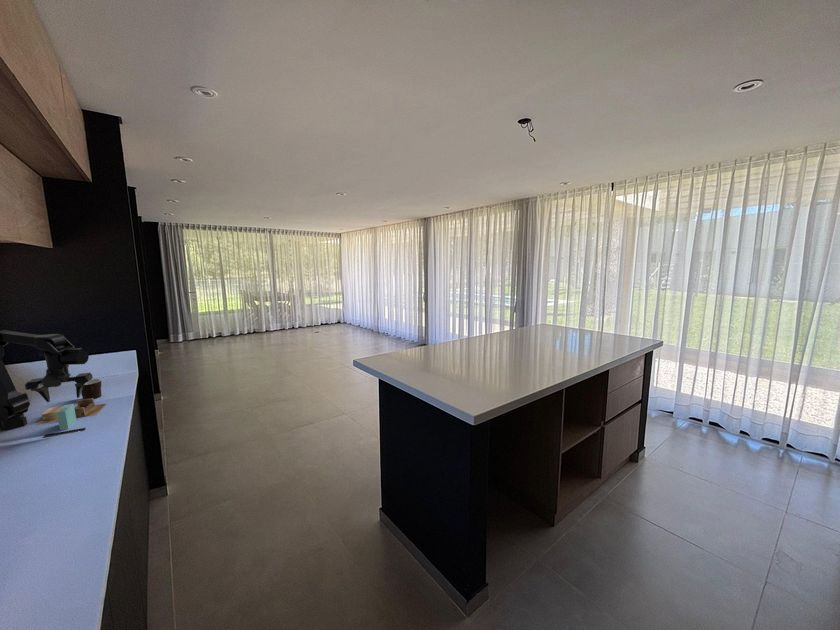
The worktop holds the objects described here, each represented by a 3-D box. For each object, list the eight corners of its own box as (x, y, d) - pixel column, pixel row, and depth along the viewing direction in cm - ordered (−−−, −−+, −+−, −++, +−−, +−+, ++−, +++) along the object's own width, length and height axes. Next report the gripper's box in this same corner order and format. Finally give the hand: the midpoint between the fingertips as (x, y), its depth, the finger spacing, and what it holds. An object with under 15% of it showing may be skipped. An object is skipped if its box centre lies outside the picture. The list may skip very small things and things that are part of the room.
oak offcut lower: (43, 420, 146) (42, 417, 146) (51, 414, 152) (50, 411, 152) (59, 418, 149) (58, 415, 148) (66, 412, 155) (65, 408, 154)
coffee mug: (85, 398, 173) (82, 380, 171) (107, 395, 177) (104, 377, 175) (74, 407, 163) (70, 388, 161) (97, 404, 166) (94, 385, 165)
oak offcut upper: (42, 417, 146) (41, 414, 146) (49, 411, 152) (49, 408, 152) (57, 415, 149) (57, 411, 148) (64, 408, 155) (64, 405, 154)
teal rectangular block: (60, 432, 139) (56, 412, 137) (69, 424, 146) (65, 404, 144) (68, 430, 140) (65, 411, 138) (77, 422, 147) (73, 403, 145)
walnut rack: (35, 428, 143) (32, 416, 142) (50, 414, 155) (48, 403, 154) (97, 418, 152) (95, 406, 151) (107, 406, 164) (105, 395, 163)
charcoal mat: (43, 438, 135) (42, 436, 135) (56, 426, 145) (55, 425, 145) (83, 430, 141) (82, 429, 141) (92, 419, 150) (92, 418, 150)
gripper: (13, 374, 127) (21, 412, 130) (79, 367, 136) (85, 402, 139) (29, 365, 137) (36, 401, 139) (90, 359, 146) (95, 393, 148)
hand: (63, 399), depth 141 cm, fingers open, 9 cm apart
